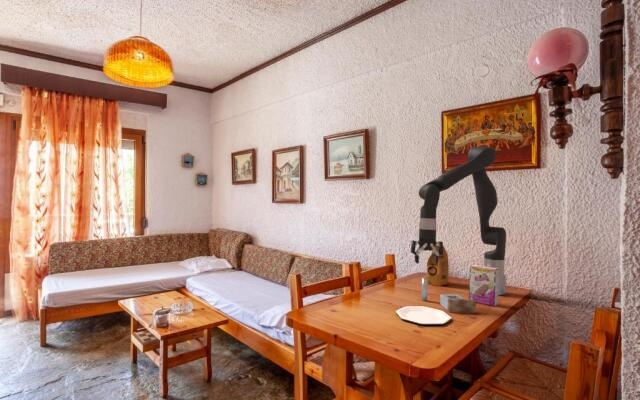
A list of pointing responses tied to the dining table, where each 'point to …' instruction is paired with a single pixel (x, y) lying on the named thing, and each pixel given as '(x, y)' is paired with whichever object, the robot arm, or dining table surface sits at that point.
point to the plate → (423, 315)
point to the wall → (462, 305)
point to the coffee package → (438, 269)
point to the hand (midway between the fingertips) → (426, 263)
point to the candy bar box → (484, 285)
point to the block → (445, 298)
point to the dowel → (424, 289)
